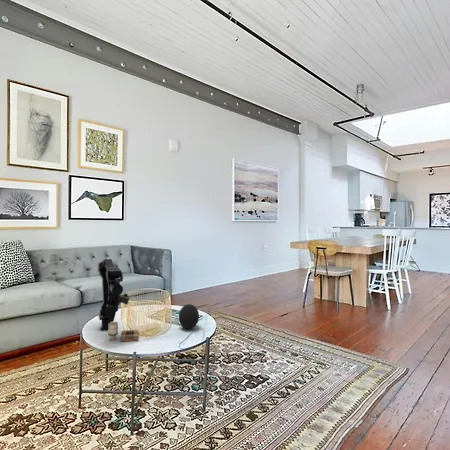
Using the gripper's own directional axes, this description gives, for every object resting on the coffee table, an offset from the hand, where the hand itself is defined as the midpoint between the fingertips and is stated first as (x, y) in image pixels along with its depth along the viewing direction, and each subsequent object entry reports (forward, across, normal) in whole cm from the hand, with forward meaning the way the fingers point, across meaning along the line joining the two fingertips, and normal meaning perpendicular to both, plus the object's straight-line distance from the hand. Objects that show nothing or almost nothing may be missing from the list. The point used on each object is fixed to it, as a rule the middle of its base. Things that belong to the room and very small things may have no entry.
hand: (113, 318), depth 180 cm
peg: (+12, 0, 0) cm, 12 cm away
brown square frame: (+11, -1, -9) cm, 15 cm away
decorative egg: (+12, +9, -44) cm, 46 cm away
